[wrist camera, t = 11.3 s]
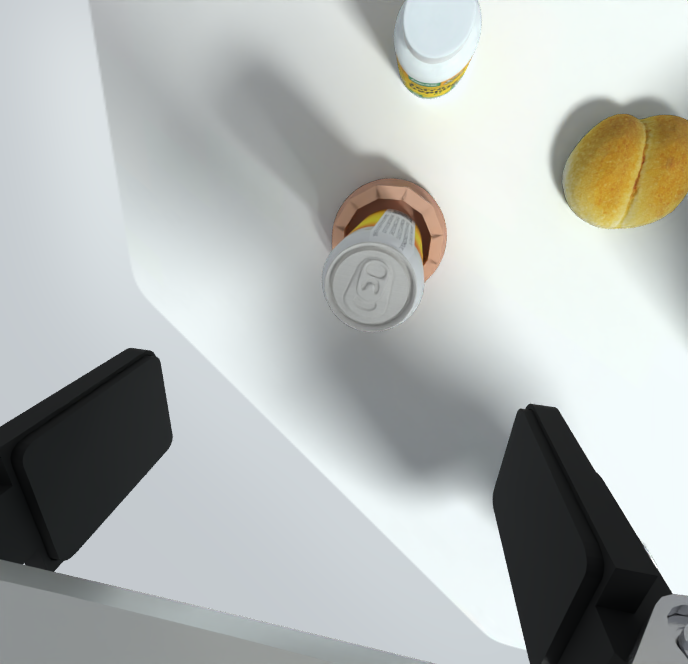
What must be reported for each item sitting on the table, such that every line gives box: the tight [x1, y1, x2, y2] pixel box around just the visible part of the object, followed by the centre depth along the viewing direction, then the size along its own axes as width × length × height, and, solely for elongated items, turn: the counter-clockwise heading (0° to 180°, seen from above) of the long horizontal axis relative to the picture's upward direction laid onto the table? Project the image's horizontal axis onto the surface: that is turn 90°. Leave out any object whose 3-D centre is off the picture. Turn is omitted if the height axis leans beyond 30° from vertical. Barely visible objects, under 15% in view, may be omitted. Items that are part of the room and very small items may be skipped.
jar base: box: [332, 178, 447, 283], centre depth 34 cm, size 11×11×3 cm
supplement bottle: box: [394, 0, 482, 99], centre depth 25 cm, size 5×5×10 cm
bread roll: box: [562, 114, 688, 229], centre depth 28 cm, size 8×9×4 cm
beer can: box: [322, 209, 424, 332], centre depth 28 cm, size 6×6×15 cm
